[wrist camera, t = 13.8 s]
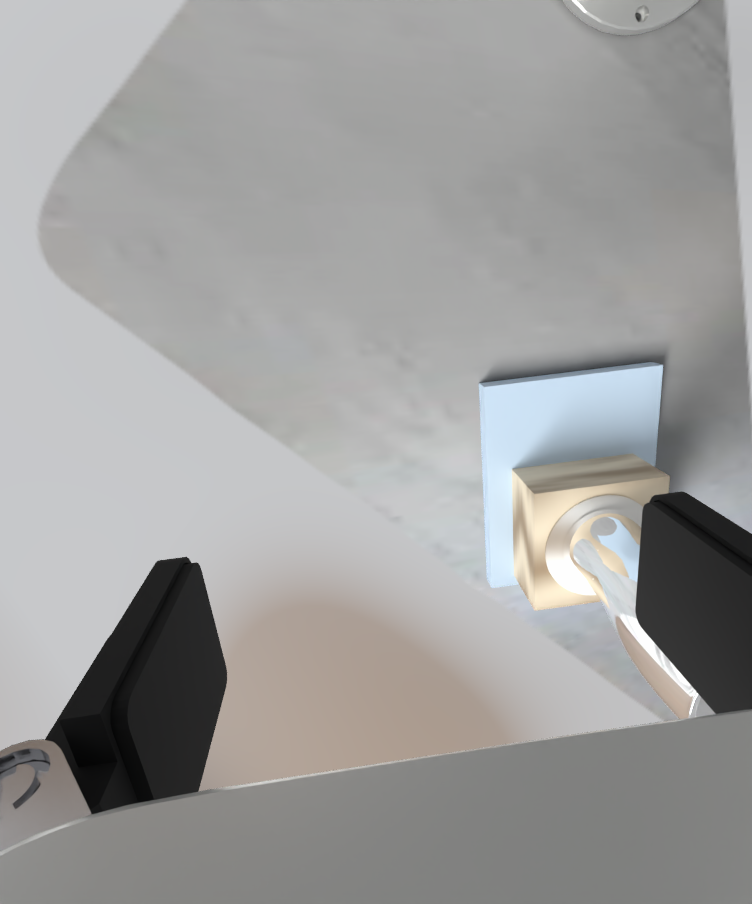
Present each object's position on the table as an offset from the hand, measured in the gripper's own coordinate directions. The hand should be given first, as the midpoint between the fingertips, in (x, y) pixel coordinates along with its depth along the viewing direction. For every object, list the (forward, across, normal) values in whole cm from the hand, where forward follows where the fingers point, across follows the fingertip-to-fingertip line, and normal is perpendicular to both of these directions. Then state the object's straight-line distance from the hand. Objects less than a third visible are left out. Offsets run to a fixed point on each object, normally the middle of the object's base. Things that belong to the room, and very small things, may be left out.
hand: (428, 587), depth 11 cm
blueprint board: (+30, -16, +12) cm, 36 cm away
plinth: (+29, -16, +15) cm, 36 cm away
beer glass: (+24, -16, +15) cm, 32 cm away
